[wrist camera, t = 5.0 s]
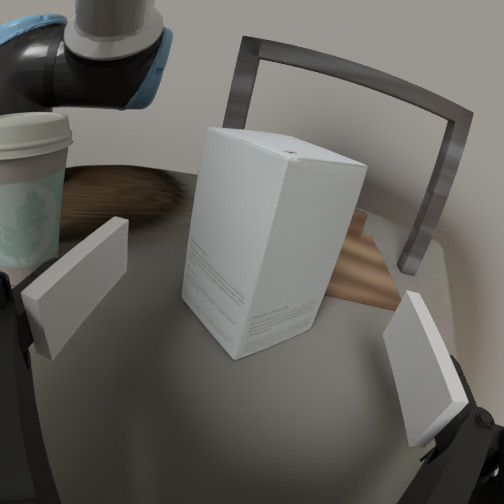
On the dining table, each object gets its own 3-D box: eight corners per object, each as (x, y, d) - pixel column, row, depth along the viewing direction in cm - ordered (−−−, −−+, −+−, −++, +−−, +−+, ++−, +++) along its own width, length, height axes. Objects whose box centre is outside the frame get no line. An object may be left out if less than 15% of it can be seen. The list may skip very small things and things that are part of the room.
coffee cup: (-32, 293, 17) (-56, 132, 11) (3, 239, 24) (-3, 113, 18) (62, 302, 20) (55, 126, 14) (81, 244, 27) (86, 111, 21)
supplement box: (313, 330, 24) (374, 166, 18) (232, 364, 19) (286, 155, 13) (254, 278, 28) (291, 134, 23) (177, 295, 24) (203, 122, 18)
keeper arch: (438, 320, 28) (519, 121, 19) (179, 257, 29) (224, 13, 19) (399, 251, 42) (447, 109, 33) (218, 203, 43) (251, 46, 33)
